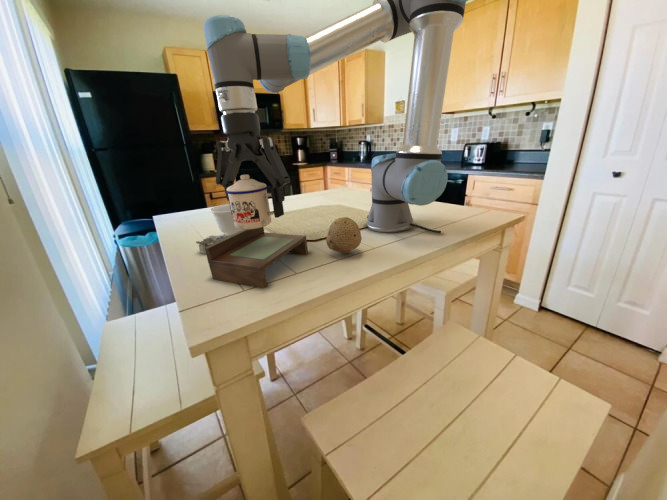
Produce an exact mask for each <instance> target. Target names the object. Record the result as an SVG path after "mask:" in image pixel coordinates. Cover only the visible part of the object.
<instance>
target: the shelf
mask: <svg viewBox="0 0 667 500" xmlns="http://www.w3.org/2000/svg"><path fill="white" fill-rule="evenodd" d="M205 252H206V254H205V255H206V258H207V263H208V266H209V270H210V273H211V276H212V279H213V280H217V281H223V282H227V283H232V284H233V283H234V284H240V285H245V286H250V287H255V288H261V289H265V288H267V287H268V281H267V276H266V271H265V270H266V269H267V268H269V267H270V266H271V265H273V264H274V263H276V262H277V261H278V260H280V259H281V258H283V257H284V256H285V255H287V254H288V253H291V254H298V255H299V254H300V255H307V254H308V253H309V248H308V241H307V235H300V234H287V233H277V232H276V233H275V232H265V226H264V227H261V228H256V229H244V230H242V231H240V232H238V233H236V234H233V235H231V236H229V237H227V238H225V239H223V240H221V241H218V242H216V243H214V244H212V245H210V246H208V247H205Z"/></svg>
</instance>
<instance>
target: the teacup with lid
mask: <svg viewBox="0 0 667 500" xmlns="http://www.w3.org/2000/svg"><path fill="white" fill-rule="evenodd" d="M239 177H240V179H239V180H237V181H236V182H234V184H233V185H232V186H230V187H228V188H227V191H226V192H227V193H228V196H229V201H230V205H231V210H232V215H233V220H234V224H235V227H236V228H238V229H256V228H261V227H264V228H265V227H266V226H269V225H270V224H271V223H272V216H273V215H274V210H271V209H270V203H269V198H270V197H271V198H272V196H271V192H268V186H267V184H266V183H264V182H261V181H258V180H256V179H253V178H250V177H251V176H250V175H249V174H241V175H240V176H239ZM229 201H228V202H229Z"/></svg>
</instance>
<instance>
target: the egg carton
mask: <svg viewBox="0 0 667 500" xmlns="http://www.w3.org/2000/svg"><path fill="white" fill-rule="evenodd" d="M231 235H233V234H231ZM231 235H226V234H222V235H209V236H206V237H205V238H203V240H201V241H199V240H198V241H195V243H196V244H197V245H198V248H199V253H200V254H203V255H206V252H205V247H208V246H210V245H212V244H214V243H216V242H218V241H221V240H223V239H225V238H227V237H229V236H231Z"/></svg>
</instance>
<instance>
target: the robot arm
mask: <svg viewBox="0 0 667 500" xmlns="http://www.w3.org/2000/svg"><path fill="white" fill-rule="evenodd" d="M468 1H469V0H373V1H372V4H371V5H369V6H366V7H364V8H361V9H360V10H359V11H356V12H353V13H351V14H349V15H348V16H345V17H343V18H341V19H339V20H336V21H335V22H333V23H330V24H328V25H326V26H324V27H322V28H321V29H318V30H316V31H314V32H312V33H310V34H308V35H306V36H303V35H297V34H296V35H295V34H291V33H288V34H272V33H271V34H269V33H260V34H258V33H250V32H247V29H246V26H245V24H244V22H243V21H242V20H241V19H240V18H238V17H235V16H230V15H229V14H216V15H212V16H210V17H208V18H207V19H206V20H205V21H204V23H203V32H204V39H205V45H206V51H207V57H208V62H209V66H210V67H209V68H210V70H211V75H212V80H213V84H214V89H215V94H216V99H217V104H218V109H219V112H221V113H222V115H221V116H220V120H221V125H222V130H223V134H225V135H226V138H227V140H219V141H216V143H215V144H216V150H217V159H216V171H215V184H216V185H218V186H219V185H220V186H221V187H223V189H224V194H225V197H226V200H227V201H228V204H230V201H229V196H228V193H227V192H226V191H227V188H228V187H230V186H232V185H233V184H235V181H236V178H237V175H238V172H239V170H240V166H241V165H242V162H244V161H248V162H249V161H252V162H253V163H254V164H256V165H257V167H258V168H259V169H260V171H261V172H262V173H263V175H264V176H265V177H266V178H267V180H268V181H269V183H270V184H271V186H272V187H270V193H271V196H272V197H271V202H272V208H273V211H274V214H273V215H274V218H276V219H277V218H278V219H279V218H280V217H282V216H284V215H285V209H284V204H283V202H285V191H284V186H285V185H287V184H290V183H291V178H290V175H289V174H288V172H287V169H286V168H285V165H284V163H283V161H282V159H281V157H280V154H279V153H278V150H277V148H276V141H275V138H274V137H269V136H268V137H263V138H262V137H261V134H260V133H261V125H260V124H261V123H260V117H259V115H258V114H257V113H256V111H258V104H257V97H256V91H255V86H254V85H255V84H254V81H258V82H259V84H260V86H261V87H263V89H264V90H265V91H267V92H268V93H272V94H276V93H280V92H282V91H284V90H285V88H287V87H288V86H292V85H293V84H295V83H296V82H297V83H298V81H300V80H306V79H308V78H309V76H310V75H313V74H315V73H317V72H318V71H320V70H323V69H325V68H327V67H329V66H331V65H333V64H335V63H337V62H339V61H341V60H343V59H345V58H347V57H349V56H351V55H353V54H356V53H357V52H359V51H362V50H363V49H365V48H368V47H370V46H372V45H374V44H376V43H378V42H381V43H383V44H384V43H389V42H390V41H392V40H395V39H397V38H399V37H402V36H404V35H408V34H410V33H412V34H413V36H414V37H413V48H412V56H411V64H410V65H411V66H410V72H409V73H410V74H409V75H410V76H409V82H408V93H407V103H406V111H405V121H404V130H403V138H402V139H403V140H402V145H401V146H400V147H399V148H398V149H397V150H396V151H395V153H387V154H381V155H377V156H374V157H373V158H372V160H371V166H370V171H371V173H370V174H371V205H370V206H371V207H370V209H369V213H368V215H367V216H366V219H367V220H366V227H367V228H368V229H369V230H371V231H374V232H377V233H386V234H387V233H389V234H391V233H392V234H393V233H402V232H406V231H409V230H410V229H412V228H413V227H414V228H417V229H420V230H422V231H425V232H429V233H435V234H441V233H442V231H441V230H438V229H437V230H436V229H431V228H428V227H425V226H421V225H418V224H415V223H414V218H413V215H412V212H411V209H410V206H409V205H411V206H412V205H415V206H421V207H422V206H427V205H430V204H433V203H434V202H435V201H436V200H437V199H438V198H440V197H441V196H442V194H443V193H444V191H445V190H446V187H447V183H448V179H449V175H448V170H447V169H446V166H445V165H444V163H442V156H443V155H442V154H443V151H442V150H441V149H440V148H439V146H438V141H439V135H440V127H441V123H442V114H443V107H444V102H445V95H446V88H447V83H448V82H447V80H448V76H449V75H448V74H449V69H450V68H449V67H450V62H451V61H450V60H451V54H452V48H453V42H454V34H455V32H456V30H458V29H459V28H460V26H461V25H462V24H463V21H464V16H465V11H466V5H467V2H468ZM262 149H263V150H264V152H263V150H262ZM230 209H231V205H230ZM231 214H232V210H231Z"/></svg>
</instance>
